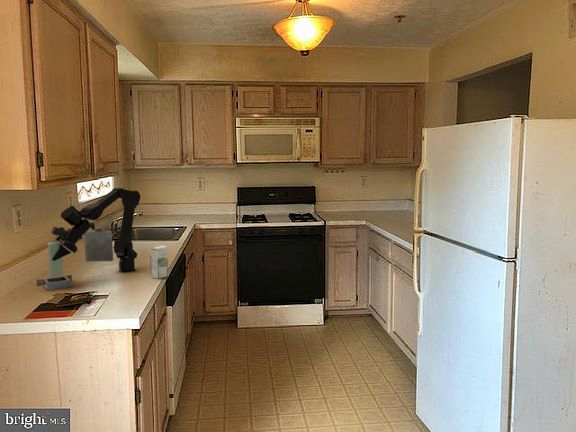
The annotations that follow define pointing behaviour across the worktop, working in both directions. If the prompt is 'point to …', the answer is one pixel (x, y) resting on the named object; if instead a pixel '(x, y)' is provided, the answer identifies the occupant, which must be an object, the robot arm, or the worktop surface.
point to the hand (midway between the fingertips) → (51, 259)
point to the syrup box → (159, 261)
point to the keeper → (56, 283)
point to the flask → (98, 245)
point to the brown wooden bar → (41, 281)
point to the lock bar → (56, 265)
